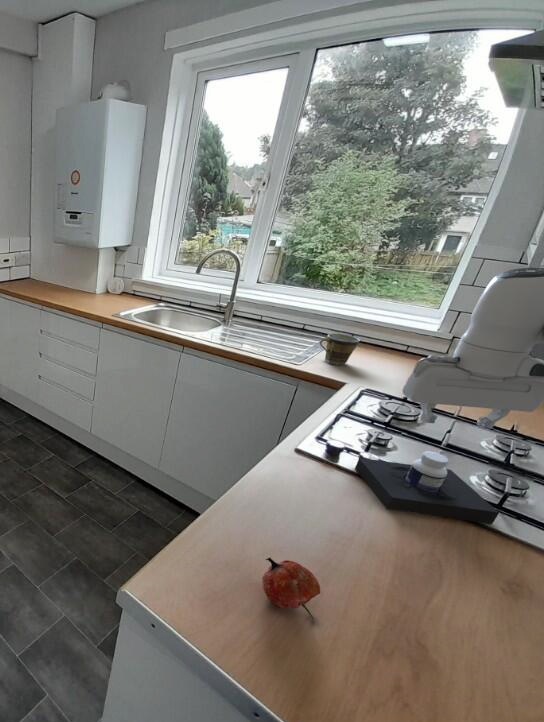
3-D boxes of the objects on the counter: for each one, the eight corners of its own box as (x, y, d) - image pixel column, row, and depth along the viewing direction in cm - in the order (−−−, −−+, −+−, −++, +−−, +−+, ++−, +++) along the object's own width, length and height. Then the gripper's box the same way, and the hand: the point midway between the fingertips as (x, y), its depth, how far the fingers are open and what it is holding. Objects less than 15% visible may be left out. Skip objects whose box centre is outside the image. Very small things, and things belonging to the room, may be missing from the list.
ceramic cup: (339, 357, 162) (348, 333, 157) (357, 367, 153) (366, 342, 148) (306, 357, 162) (314, 333, 158) (321, 366, 153) (330, 341, 149)
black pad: (444, 480, 92) (450, 469, 91) (492, 524, 80) (499, 512, 79) (354, 468, 96) (359, 458, 95) (386, 509, 84) (392, 497, 82)
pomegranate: (308, 606, 66) (268, 547, 69) (348, 606, 60) (303, 541, 63) (280, 632, 63) (240, 569, 66) (320, 634, 57) (273, 565, 60)
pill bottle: (398, 482, 91) (416, 446, 87) (429, 490, 89) (449, 453, 85) (402, 496, 87) (421, 458, 83) (436, 505, 85) (457, 467, 80)
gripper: (431, 360, 74) (402, 426, 80) (571, 370, 70) (531, 438, 76) (410, 349, 80) (385, 411, 85) (539, 357, 75) (504, 422, 81)
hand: (454, 424), depth 80 cm, fingers open, 8 cm apart
